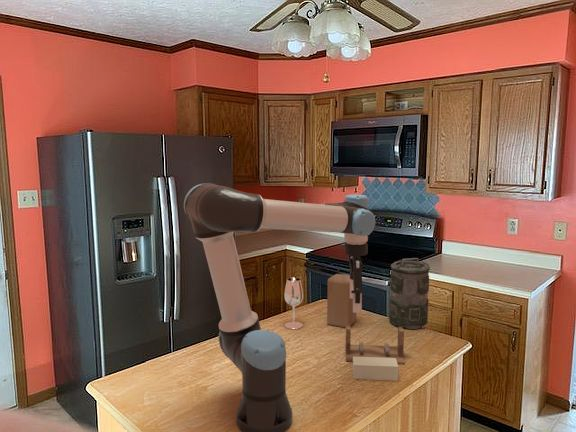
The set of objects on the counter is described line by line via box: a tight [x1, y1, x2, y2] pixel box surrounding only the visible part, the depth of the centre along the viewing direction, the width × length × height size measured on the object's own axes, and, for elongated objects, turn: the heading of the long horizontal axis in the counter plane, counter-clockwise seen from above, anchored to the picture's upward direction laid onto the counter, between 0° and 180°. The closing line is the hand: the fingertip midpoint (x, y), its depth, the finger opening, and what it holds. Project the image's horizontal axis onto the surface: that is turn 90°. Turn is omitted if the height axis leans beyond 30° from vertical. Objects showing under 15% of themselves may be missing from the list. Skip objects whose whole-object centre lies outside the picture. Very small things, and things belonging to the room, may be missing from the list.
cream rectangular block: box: [352, 357, 400, 382], centre depth 146 cm, size 6×14×5 cm, turn 85°
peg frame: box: [344, 325, 406, 365], centre depth 161 cm, size 13×20×10 cm, turn 84°
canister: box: [388, 257, 431, 330], centre depth 189 cm, size 16×16×28 cm
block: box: [326, 273, 357, 329], centre depth 189 cm, size 10×10×20 cm
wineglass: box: [283, 277, 304, 330], centre depth 187 cm, size 8×8×20 cm
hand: (355, 304), depth 149 cm, fingers open, 13 cm apart
